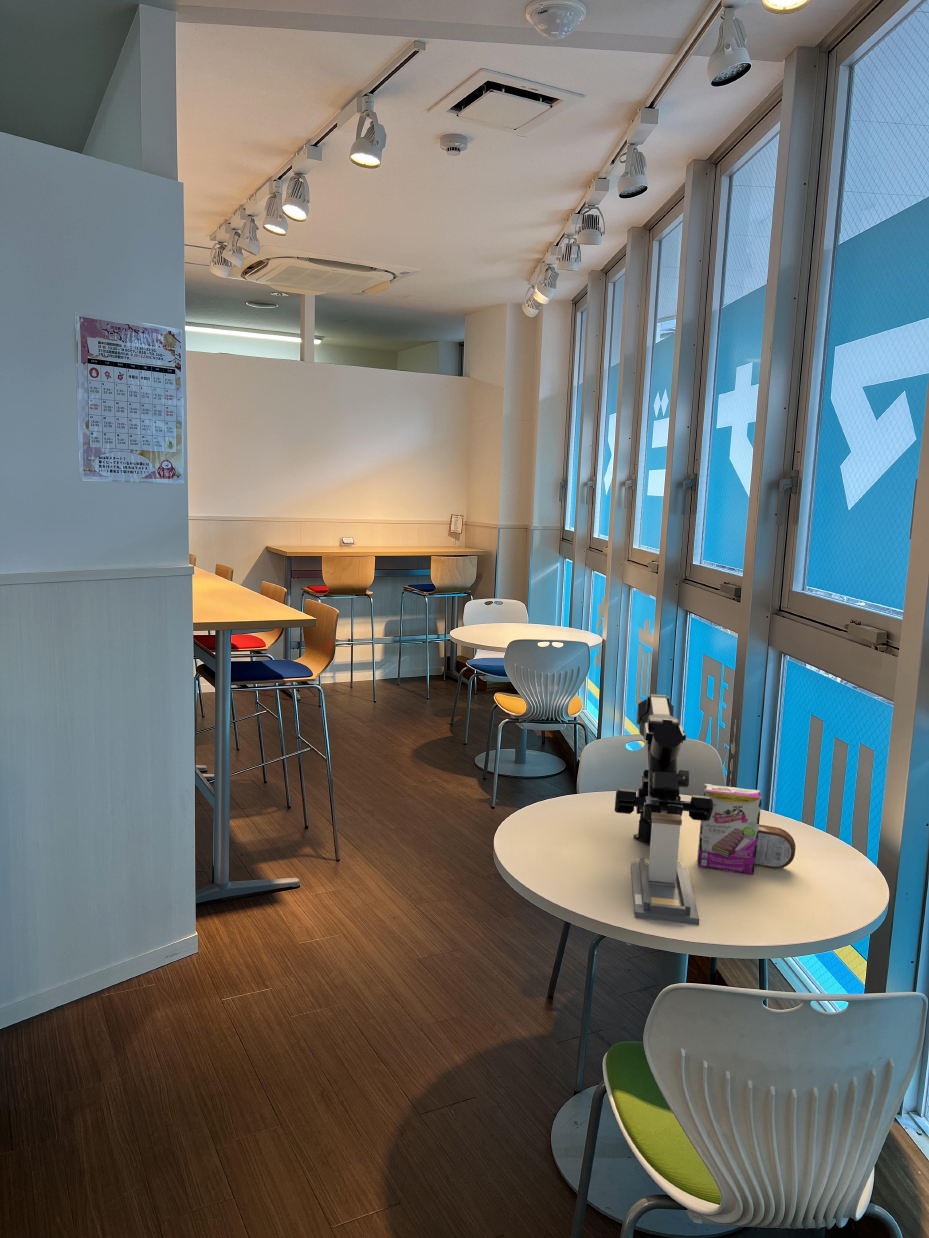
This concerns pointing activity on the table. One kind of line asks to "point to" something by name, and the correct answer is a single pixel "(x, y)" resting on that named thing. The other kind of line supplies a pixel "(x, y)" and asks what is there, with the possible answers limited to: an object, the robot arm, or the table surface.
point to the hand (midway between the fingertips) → (662, 844)
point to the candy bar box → (730, 830)
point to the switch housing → (663, 896)
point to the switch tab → (664, 847)
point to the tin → (774, 847)
